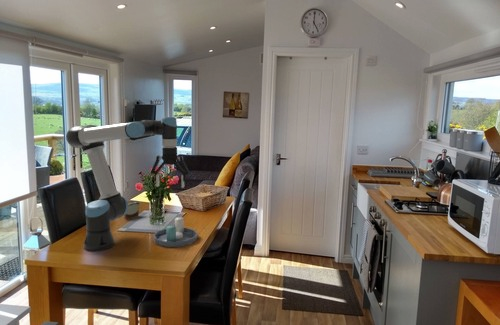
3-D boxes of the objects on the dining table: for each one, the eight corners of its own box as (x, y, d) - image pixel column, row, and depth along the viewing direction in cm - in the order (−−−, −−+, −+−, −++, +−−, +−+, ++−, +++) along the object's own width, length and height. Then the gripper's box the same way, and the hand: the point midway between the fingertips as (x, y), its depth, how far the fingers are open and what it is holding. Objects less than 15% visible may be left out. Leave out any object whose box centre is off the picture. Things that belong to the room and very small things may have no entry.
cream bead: (182, 235, 217) (182, 220, 215) (174, 234, 217) (173, 219, 216) (184, 232, 222) (184, 217, 220) (176, 231, 222) (176, 217, 221)
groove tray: (190, 248, 200) (190, 243, 199) (147, 245, 202) (147, 240, 202) (201, 232, 223) (201, 228, 222) (162, 230, 225) (162, 226, 225)
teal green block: (174, 245, 202) (174, 228, 201) (165, 244, 203) (165, 228, 201) (177, 241, 207) (177, 225, 206) (168, 241, 208) (168, 225, 206)
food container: (135, 213, 258) (134, 199, 256) (140, 215, 254) (139, 201, 252) (118, 218, 248) (118, 203, 247) (124, 220, 244) (123, 204, 243)
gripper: (195, 146, 199) (195, 186, 202) (149, 145, 201) (150, 184, 205) (191, 148, 192) (191, 189, 195) (143, 147, 194) (144, 187, 197)
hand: (170, 186), depth 200 cm, fingers open, 13 cm apart
